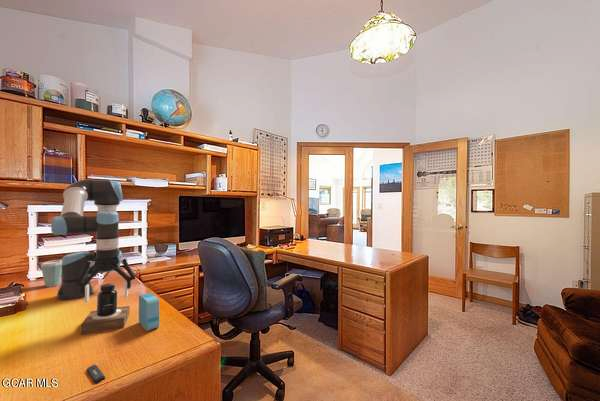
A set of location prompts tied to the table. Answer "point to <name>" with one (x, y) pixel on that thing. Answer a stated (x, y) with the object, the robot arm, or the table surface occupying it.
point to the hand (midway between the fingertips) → (107, 298)
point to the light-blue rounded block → (149, 311)
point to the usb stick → (95, 373)
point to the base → (105, 321)
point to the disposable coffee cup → (52, 272)
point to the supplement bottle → (107, 300)
